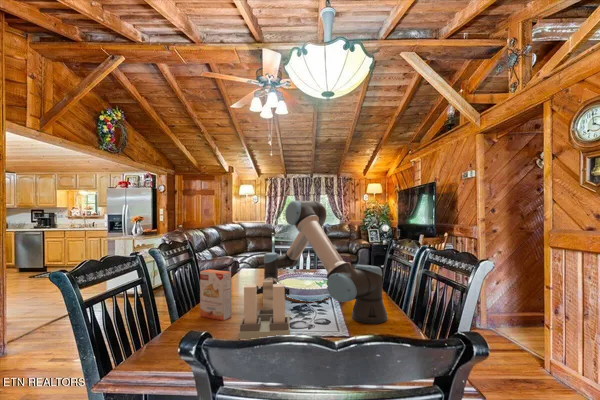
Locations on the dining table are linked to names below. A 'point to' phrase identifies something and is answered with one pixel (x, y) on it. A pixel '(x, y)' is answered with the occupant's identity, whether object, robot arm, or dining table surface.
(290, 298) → the trivet
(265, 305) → the loose stool leg
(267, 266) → the robot arm
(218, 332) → the dining table surface
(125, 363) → the dining table surface
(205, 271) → the cracker box
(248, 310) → the stool seat
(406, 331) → the dining table surface
